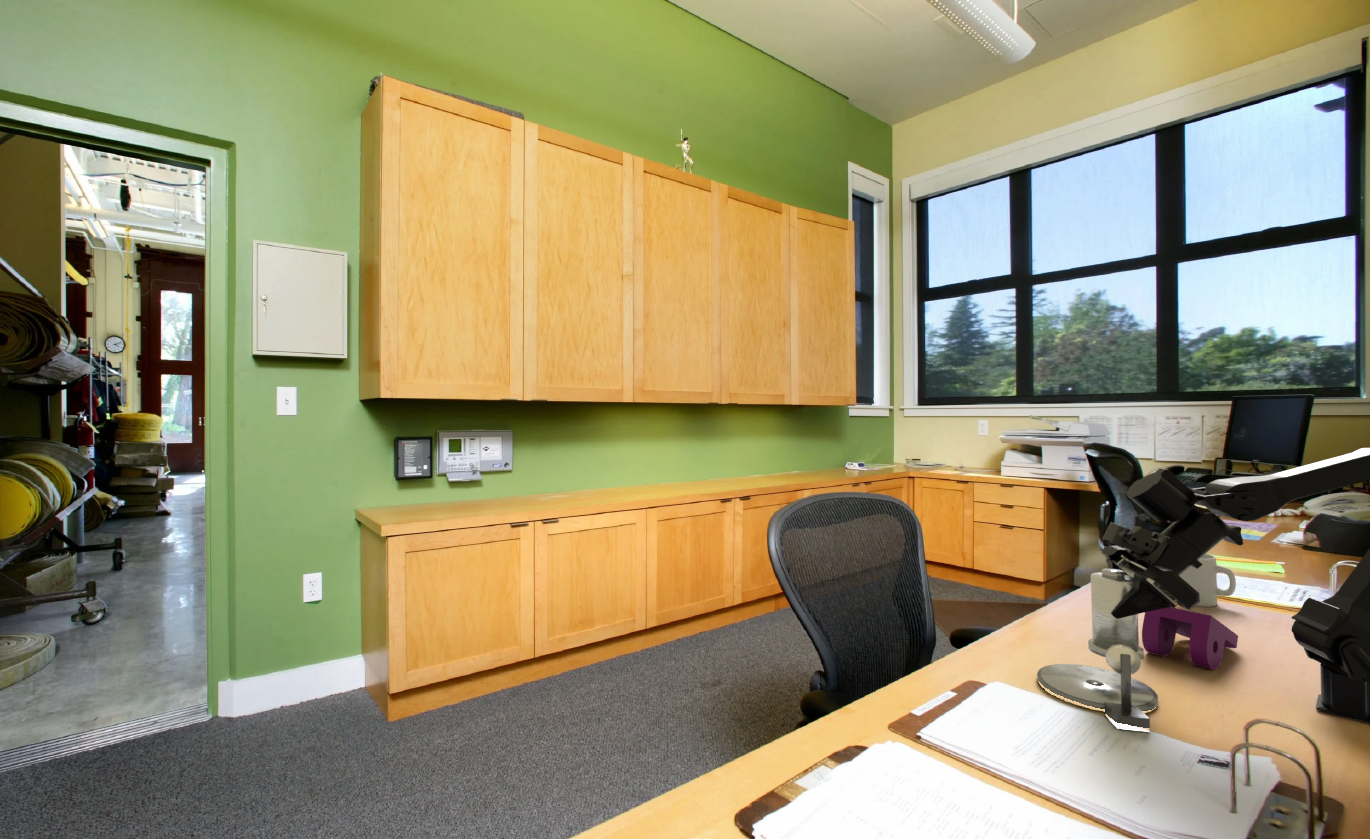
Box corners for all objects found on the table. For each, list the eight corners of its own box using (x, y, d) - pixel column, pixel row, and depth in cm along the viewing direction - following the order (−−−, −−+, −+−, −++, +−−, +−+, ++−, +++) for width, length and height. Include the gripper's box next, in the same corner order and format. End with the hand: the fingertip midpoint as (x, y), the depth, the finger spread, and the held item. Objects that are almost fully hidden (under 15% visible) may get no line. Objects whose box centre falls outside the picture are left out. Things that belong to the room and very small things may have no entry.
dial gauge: (1150, 733, 82) (1148, 654, 83) (1117, 729, 83) (1115, 651, 84) (1136, 718, 86) (1134, 643, 86) (1104, 715, 87) (1103, 641, 87)
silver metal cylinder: (1149, 663, 90) (1147, 578, 90) (1093, 657, 93) (1090, 574, 93) (1136, 646, 97) (1134, 567, 97) (1084, 641, 100) (1082, 564, 100)
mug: (1163, 599, 141) (1162, 554, 142) (1178, 593, 146) (1177, 549, 146) (1229, 613, 131) (1228, 563, 131) (1243, 606, 136) (1242, 558, 136)
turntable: (1143, 726, 84) (1143, 717, 84) (1021, 689, 96) (1021, 681, 96) (1169, 691, 95) (1168, 684, 95) (1056, 661, 107) (1056, 655, 107)
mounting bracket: (1176, 669, 117) (1138, 646, 109) (1183, 627, 119) (1146, 602, 110) (1240, 686, 109) (1203, 664, 100) (1246, 641, 111) (1211, 615, 102)
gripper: (1113, 498, 103) (1044, 560, 106) (1171, 515, 85) (1086, 589, 88) (1168, 545, 101) (1096, 606, 104) (1239, 572, 83) (1150, 645, 86)
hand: (1104, 609), depth 95 cm, fingers closed on silver metal cylinder, 6 cm apart
